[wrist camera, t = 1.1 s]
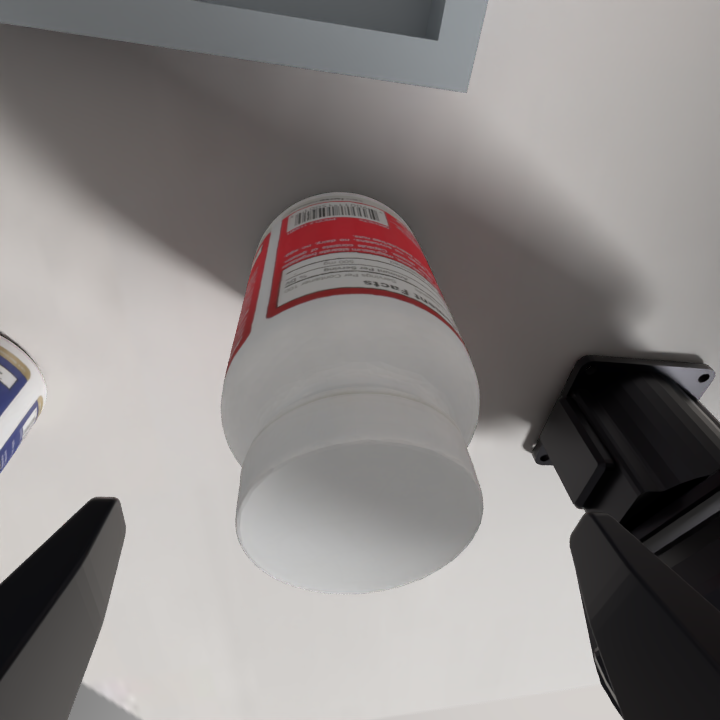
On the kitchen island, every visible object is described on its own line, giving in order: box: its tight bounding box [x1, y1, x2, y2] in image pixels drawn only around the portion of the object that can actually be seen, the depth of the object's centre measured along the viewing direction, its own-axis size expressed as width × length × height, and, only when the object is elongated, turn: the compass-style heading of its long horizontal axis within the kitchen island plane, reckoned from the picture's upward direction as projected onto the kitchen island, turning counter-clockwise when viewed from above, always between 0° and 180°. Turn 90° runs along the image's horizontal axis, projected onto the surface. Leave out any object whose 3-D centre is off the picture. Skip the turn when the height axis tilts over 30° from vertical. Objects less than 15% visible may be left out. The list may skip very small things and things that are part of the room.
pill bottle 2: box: [221, 192, 483, 594], centre depth 13 cm, size 6×6×11 cm
